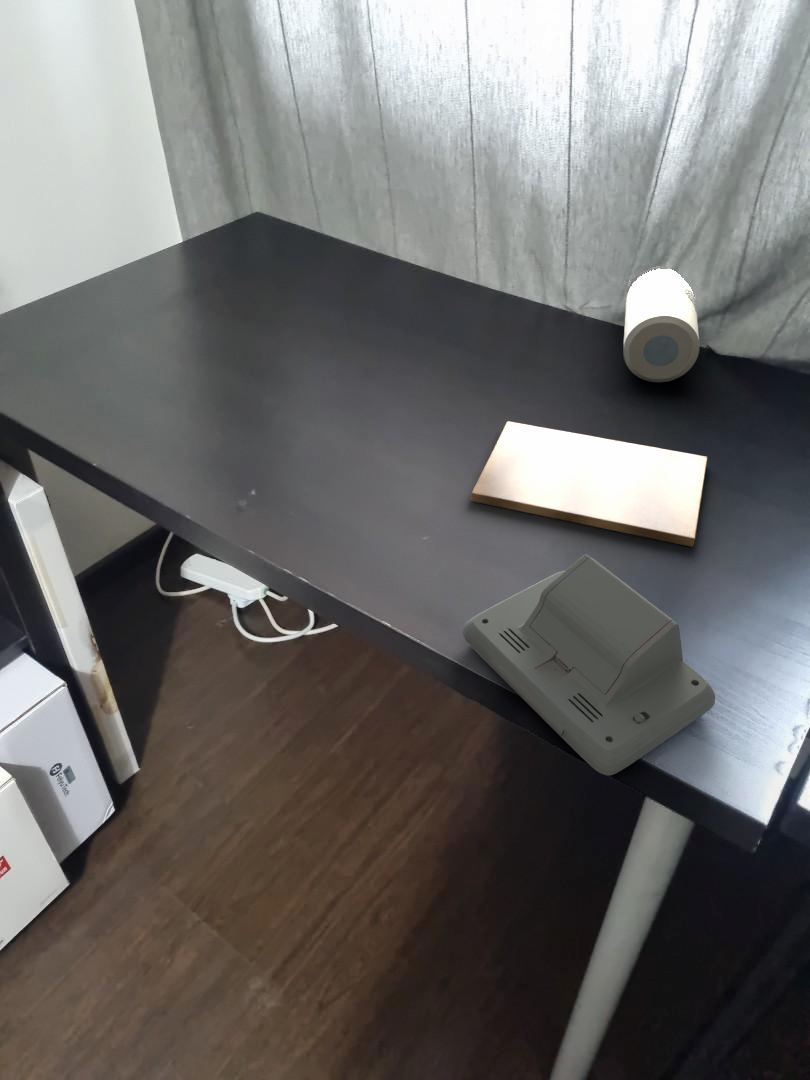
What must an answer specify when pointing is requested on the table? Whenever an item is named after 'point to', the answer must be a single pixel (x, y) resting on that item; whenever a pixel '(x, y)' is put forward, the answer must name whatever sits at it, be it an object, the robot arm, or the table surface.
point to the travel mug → (660, 326)
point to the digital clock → (593, 663)
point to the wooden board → (595, 482)
